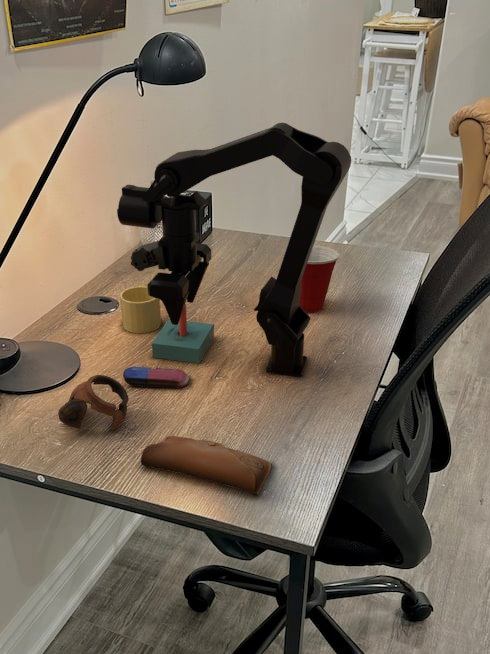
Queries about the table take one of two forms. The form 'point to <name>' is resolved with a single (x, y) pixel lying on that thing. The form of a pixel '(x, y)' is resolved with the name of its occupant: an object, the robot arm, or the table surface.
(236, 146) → the robot arm
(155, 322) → the tumbler
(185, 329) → the red rod
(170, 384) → the eraser
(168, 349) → the block
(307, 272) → the plastic cup
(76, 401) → the brown curved ring piece
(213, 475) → the sunglasses case
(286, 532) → the table surface
